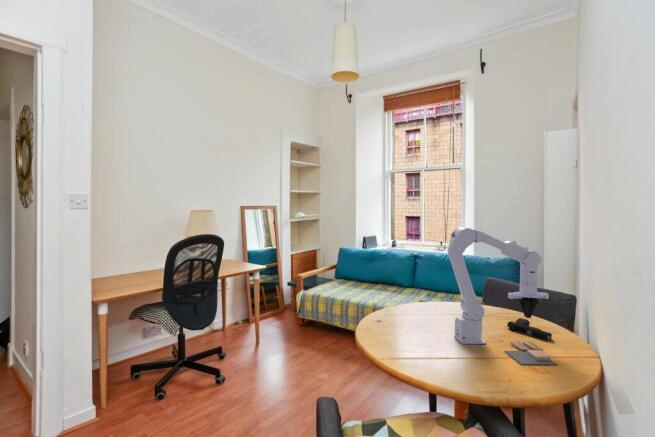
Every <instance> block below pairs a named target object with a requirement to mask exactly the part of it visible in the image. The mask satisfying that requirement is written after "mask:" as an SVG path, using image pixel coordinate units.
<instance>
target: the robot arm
mask: <svg viewBox="0 0 655 437" xmlns="http://www.w3.org/2000/svg"><path fill="white" fill-rule="evenodd" d="M474 243H476V244H478V243H484V244H486V245H489V246H491V247H493V248H496V249H498V250H499V251H500V253H501V254H502V255H503V256H506V257H508V258H510V259H512V260H514V261H516V262H519V263H520V264H519V266H520V269H519V291H514V292H507V298H508V299H510V300H514V299H515V300H516V299H517V300H518V302H519V304H520V306H521V308H522V312H523V316H524V317H525V318H526V319H531V318H532V316H533V312H534V310H535V309H536V307H537V305H538V304H539V303H540V301H539V300H538V299H546V300H548V299H549V297H550V296H549V293H547V292H539V291H538V280H539V278H538V277H539V276H538V275H539V273H538V272H539V265H541V263H542V260H543V259H541V256H540V254H539V253H538V252H536V251H534V250H530V249H529V247H527V246H522V245H520V244H517V242H516V241H515V240H511V241H510V240H507V241H502V240H500V239H498V238H495V237H494V236H492V235H489V234H487V233H486V232H483V231H480V230H476V229H472V228H469V227H465V226H457V227H455V229H454V230H452V232H451V234H450V239H449V243H448V247H447V254H448V257H449V258H448V259H449V261H450V265H451V267H452V271H453V274H454V276H455V280H456V283H457V285H458V288H459V293H460V301H461V302H460V307H461V310H462V311H463V312H462V313H461V316H457V317H456V318H454V334H453V337H454V338H455V339H456V340H457V341H458V342H460V344H462V345H472V344H473V345H477V344H478V345H480V344H484V345H486V344H487V342H486V341H485V340H484V339H483V317H484V316H485V314H486V313H485V308H484V307H483V306H482V304H480V301H479V298H478V297H477V295H476V293H475V290H474V287H473V283H472V281H471V277H470V274H469V271H468V267H467V265H466V262H465V259H464V255H463V254H464V252H465V250H467V248H468V247H470V246H471V245H472V244H474Z"/></svg>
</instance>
